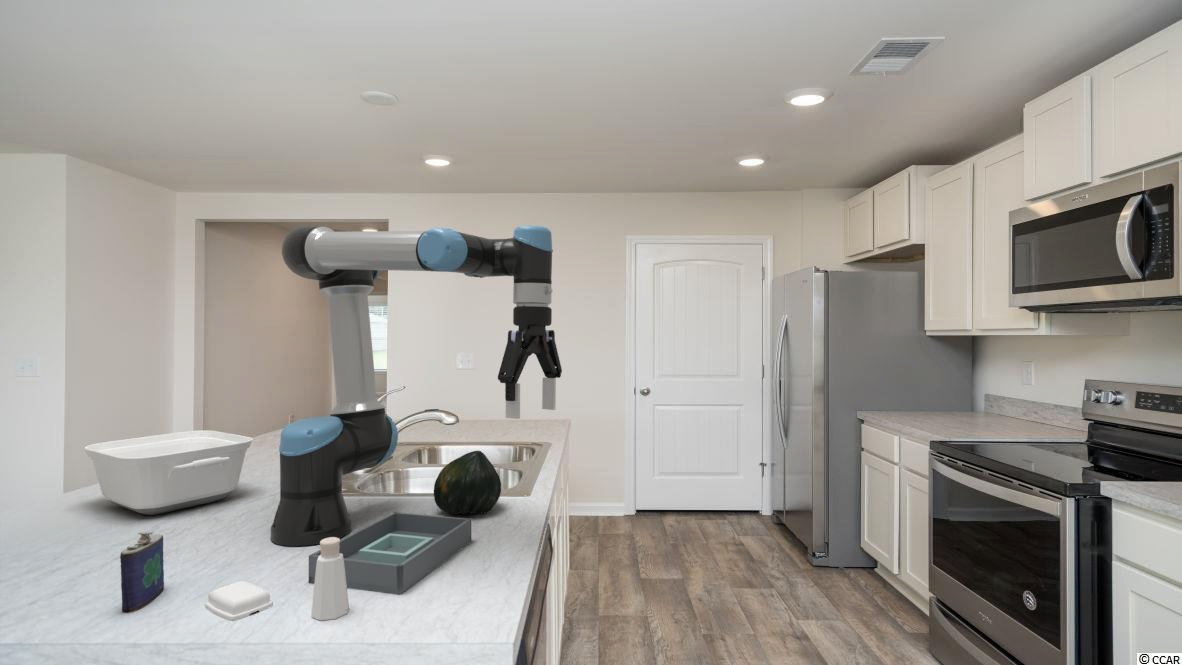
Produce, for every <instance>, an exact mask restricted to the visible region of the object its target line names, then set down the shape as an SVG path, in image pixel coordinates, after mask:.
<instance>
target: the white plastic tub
mask: <svg viewBox="0 0 1182 665" xmlns="http://www.w3.org/2000/svg"><path fill="white" fill-rule="evenodd" d="M253 440H254V438H253V437H251V436H246V435H245V436H244V435H240V434H235V433H230V432H229V433H228V432H223V431H217V430H210V429H209V430H206V429H205V430H203V429H201V430H187V431H178V432H170V433H163V434H156V435H148V436H143V437H134V438H126V439H118V440H111V441H110V440H109V441H102V442H98V443H93V444H88V445H86V446H85V447H84V448H83V449H84V451H85V453H86V455H87V457H89V458H90V459H91V460H92V463H93V467H94V471H95V474H96V478H97V480H98V484H99V487H100V488H99V489H100V491H101V495H102V496H103V497H104V498H105V499H106V500H107V501H109V502H111V503H112V504H113V505H117V506H119V507H121V508H124V509H126V510H127V509H128V510H131V511H133V512H136V513H139V514H141V515H147V516H155V515H161V514H165V513H170V512H174V511H179V510H183V509H188V508H191V507H196V506H201V505H205V504H209V503H213V502H214V503H215V502H218V501H221V500H223V499H224V498H226V497H227V496H229V495H230V494H231V493H232V492H233V491H234V490H236V488H237V486H239V481H240V477H241V473H242V469H243V464H244V460H245V456H246V453H247V451H248V449H250V446H251V444H252V441H253Z"/></svg>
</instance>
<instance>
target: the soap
mask: <svg viewBox="0 0 1182 665" xmlns="http://www.w3.org/2000/svg"><path fill="white" fill-rule="evenodd" d="M270 594H271V593H269V592H268V591H267V590H266V589H264V588H262V587H260V586H258V585H255V584H253V583H250V582H248V581H245V580H241V581H237V582H233V583H231V584H228V585H225V586H222V587H219V588H216V589H213V590H212V591H210V593H209V594H208V596H207V597H208V598H207V599H208V600H207V601H206V602H205V603H204V607H205V609H206V610H208V611H209V612H211V613H212V614H213V615H215V616H218V617H219V618H222V619H224V620H226V621H229V622H234V621H238V620H242V619H244V617H245V618H247V617H249V616H250V615H251V614H252V613H255V612H257V611H258V612H259V613H260V611H261V612H263V611H265V610H268V609H270V608H272V607H273V606H274V601H273V600H272V599H271V595H270ZM269 607H270V608H269Z"/></svg>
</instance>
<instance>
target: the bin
mask: <svg viewBox="0 0 1182 665" xmlns="http://www.w3.org/2000/svg"><path fill="white" fill-rule="evenodd" d="M472 525H473V523H472V518H466V517H465V518H464V517H453V516H442V515H431V514H421V513H419V514H418V513H407V512H398V511H394V512H391V513H390V514H387V515H386V516H384V517H382V518H380V519H378V520H376V521H374V522H372V523H370V524H368V525H366V526H364V527H362V528H361V529H359V530H357V531H354V532H353V533H349V535H348V534H347V535H345V537H342V538H340V544H339V545H340V546H339V547H340V549H339V553H341V554H343V558H344V567H345V575H346V584H347V589H354V590H355V589H356V590H361V591H369V592H370V591H371V592H380V593H386V594H395V595H402V594H403V593H405V592H406V591H407V590H409V589H410V588H412V587H413V586H414V585H416V584H417V583H418V582H420V581H421V580H422V579H423V578H424V577H426V576H427V575H429V574H430V573H431V572H433V571H434V570H435V569H436V568H438V567H440V566H441V565H442V564H443V563H445V562H446V561H447V560H450V558H451V557H453V556H454V555H456V554H457V553H458V552H460V551H462V549H463V548H465V547H466V546H467V545H469V544H470V543H471V542H472V539H473V537H472V532H473V530H472V528H473V527H472ZM320 555H321V550H320V549H319V550H318V551H315V552H314V553H311V554H309V555H308V583H309V584H314V583H315V574H316V564H317V559H318V557H319V556H320Z"/></svg>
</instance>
